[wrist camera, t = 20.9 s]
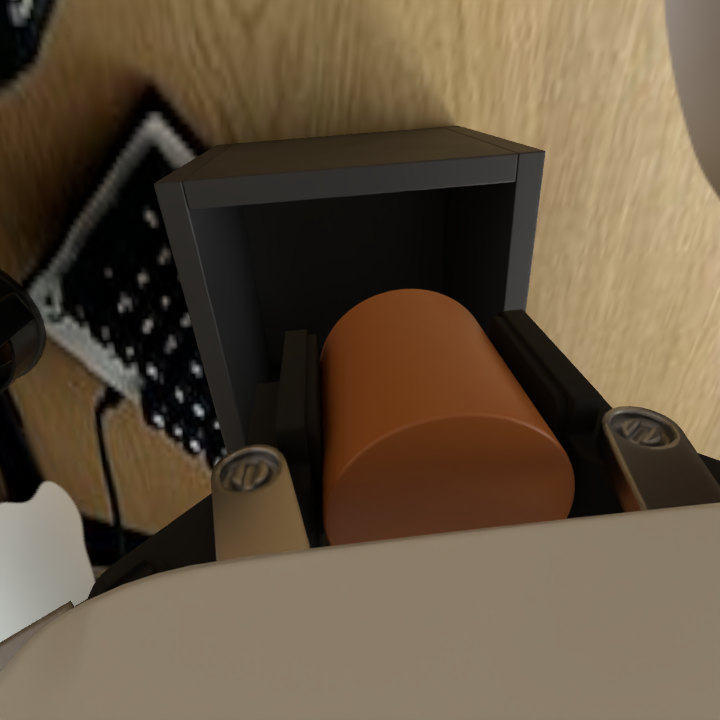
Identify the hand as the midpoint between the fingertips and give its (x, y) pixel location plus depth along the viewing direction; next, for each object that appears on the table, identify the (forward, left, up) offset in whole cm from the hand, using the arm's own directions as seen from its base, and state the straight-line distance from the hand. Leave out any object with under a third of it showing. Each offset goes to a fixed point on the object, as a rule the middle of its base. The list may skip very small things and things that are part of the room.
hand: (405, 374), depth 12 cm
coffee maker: (-3, +2, -20) cm, 20 cm away
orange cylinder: (0, 0, 0) cm, 0 cm away
